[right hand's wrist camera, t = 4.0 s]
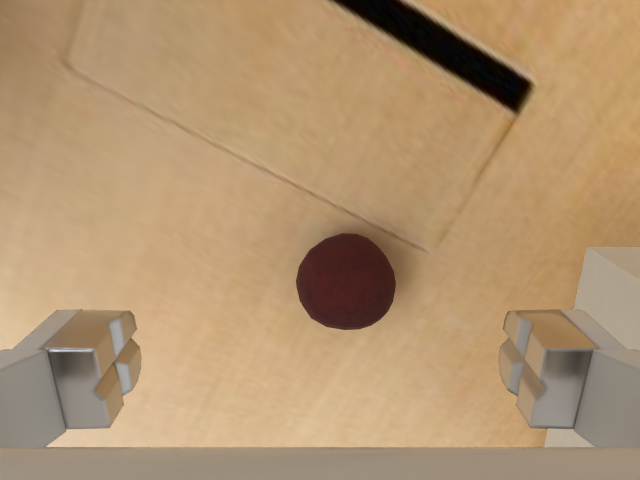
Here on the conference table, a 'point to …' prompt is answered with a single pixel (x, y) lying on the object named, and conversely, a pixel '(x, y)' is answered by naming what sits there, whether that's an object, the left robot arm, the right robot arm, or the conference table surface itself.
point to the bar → (607, 308)
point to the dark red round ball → (346, 282)
